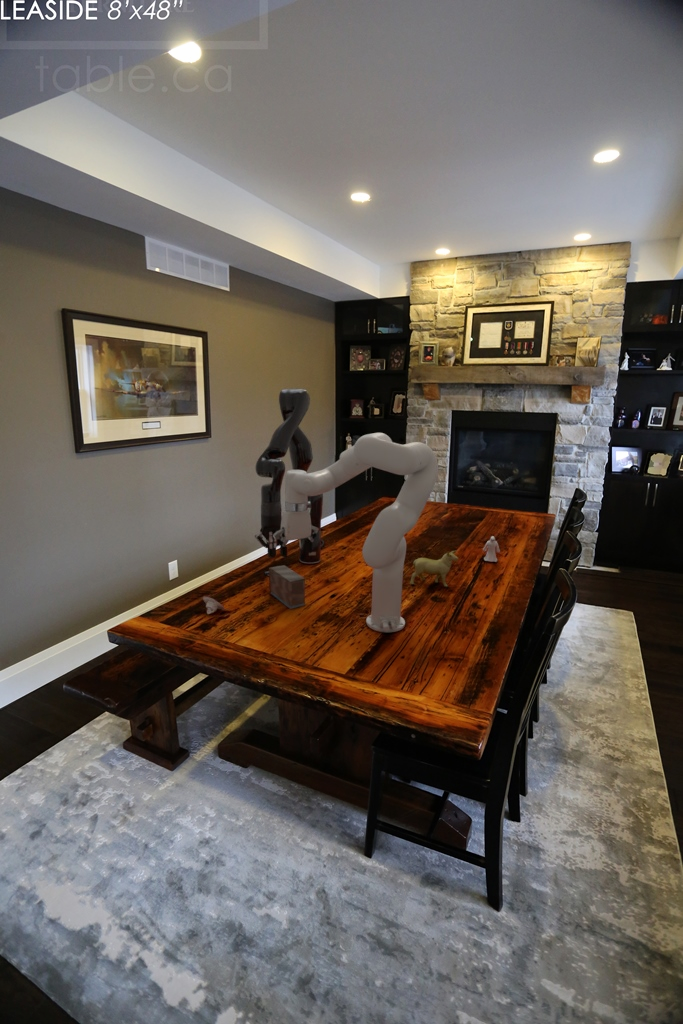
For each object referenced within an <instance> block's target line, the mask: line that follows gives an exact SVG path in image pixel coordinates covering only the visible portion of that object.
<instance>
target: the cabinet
mask: <svg viewBox="0 0 683 1024" xmlns="http://www.w3.org/2000/svg"><path fill="white" fill-rule="evenodd" d="M277 566H278V567H276V566H272V567H273V568H271V567H269V568H270V572H271V590H270V595H272V596H273V597H274V598H276V599H277V600H278V601H279V602H281V603H282V604H284V606H285V607H287V608H289V609H290V610H292V609H295V608H299V607H300V608H301V607H305V605H306V578H305V577H303V576H302V575H300V574H299V573H297V572H296V571H294V570H292V569H291V568H290V567H288V566H286V565H285V564H284V565H277Z"/></svg>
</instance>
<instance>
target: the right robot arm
mask: <svg viewBox="0 0 683 1024" xmlns="http://www.w3.org/2000/svg"><path fill="white" fill-rule="evenodd" d="M370 468H375V469H378V470H382V471H384V472H388V473H391V474H394V475H397V476H407V475H408V476H407V478H406V479H405V481H404V483H403V485H402V486H401V489H400V491H399V493H398V495H397V496H396V499H395V500H394V502H393V503H392V504H390V505H388V506H386V507H385V508H383V509H382V510H381V511H380V512H379V513H378V515H377V516H376V518H375V520H374V521H373V524H372V526H371V528H370V530H369V532H368V535H366V536H367V537H366V538H365V540H364V543H363V545H362V549H361V550H362V551H361V553H362V558H363V561H364V562H365V564H366V565H367V566H368V567H370V568H372V585H371V586H372V587H371V607H370V609H371V613H370V615H368V616H367V617H366V621H365V622H366V623H365V624H366V625H367V627H368V628H369V629H372V630H373V631H376V632H379V633H396V632H398V631H402V630H403V629H404V628H405V626H406V620H405V618H403V617H402V615H401V614H402V599H403V598H402V597H403V580H404V567H405V559H406V553H407V541H406V538H405V535H406V534H408V533H409V532H411V531H412V530H413V529H414V528H415V527H416V525H417V524H418V521H419V519H420V517H421V514H422V513H423V510H424V509H425V507H426V505H427V503H428V500H429V498H430V496H431V494H432V492H433V490H434V488H435V486H436V483H437V480H438V477H439V462H438V458H437V455H436V454H435V452H434V451H433V449H432V448H431V447H430V446H429V445H428V444H426V443H424V442H420V441H412V442H409V443H405V444H400V443H397V442H394V441H393V440H392V438H391V437H390V436H389V435H387V434H386V433H383V432H374V433H367V434H364V435H362V436H360V437H359V438H358V439H357V440H356V441H355V443H354V445H352V446H350V447H349V448H347V449H345V450H344V451H342V452H341V453H340V454H339V459H338V460H337V461H335V462H334V463H332V464H331V465H329V466H327V467H325V468H323V469H321V470H320V469H319V470H316V471H313V472H309V473H308V471H307V472H306V471H303V470H293V469H289V470H287V471H285V473H284V487H285V489H284V490H285V491H284V494H285V496H284V498H285V500H284V501H285V503H284V504H285V506H284V510H283V509H282V512H281V516H282V519H281V529H280V530H279V531H277V532H276V533H274V534H273V537H274V538H275V541H276V542H277V543H278V544H279V545H280V546H279V549H280V550H279V554H280V556H281V557H283V558H284V559H286V558H288V547H287V546H286V545H287V544H288V543H289V541H296V540H300V539H303V538H306V539H307V540H306V541H305V551H307V552H309V553H311V551H312V542H313V541H314V538H315V537H316V535H317V532H318V530H319V528H317V527H315V526H312V525H311V518H310V510H309V508H308V506H309V505H310V504H311V503H310V502H308V496H316V495H319V494H322V493H323V494H324V493H327V492H330V491H333V490H334V489H336V488H339V487H340V486H341V485H343V484H345V483H347V482H348V481H351V479H354V478H355V477H357V476H358V475H360V474H361V473H363V472H365V471H366V470H369V469H370ZM311 529H313V532H312V533H311ZM280 535H281V537H282V539H281V540H280V539H279V536H280Z"/></svg>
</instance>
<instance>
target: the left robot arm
mask: <svg viewBox="0 0 683 1024" xmlns="http://www.w3.org/2000/svg"><path fill="white" fill-rule="evenodd" d="M310 404H311V397H310V394H309V391H308V390H307V389H304V388H283V389H281V390H280V392H279V395H278V405H279V410H280V412H281V417H282V423H281V424H280V425H279V426H278V427H276V429H275V430H274V431H273V433H272V435H271V438H270V440H269V442H268V446H267V447H266V448H265V449H264V451H263V452H262V454H261V455H260V456H259V457H258V458H257V461H256V463H255V473H256V475H257V476H258V477H261V478H268V479H272V481H271V483H265V484H263V485H262V486H261V487H260V497H261V498H260V529H259V533H258V534H255V535H254V538H255V539H256V540H257V541H258V543H259V544H260V545H261V546H262V547H264V548H265V549H267V556H268V557H269V558H270V559H274V558H276V556H277V547H280V545H279V544H278V543H277V542H276V541H275V538H274V537H273V534H274V533H276V532H277V531H279V530H280V529H281V519H282V513H283V509H282V500H281V499H282V496H281V495H282V494H281V493H282V492H281V490H282V485H283V480H284V478H285V474H286V464H285V462H284V461H283V458H284V457H285V456H286V455H287V453H288V452H289V459H290V463H291V470H303V471H306V472H307V473H308V470H309V468H310V466H311V464H312V462H313V458H314V456H313V449H312V448H313V447H312V443H311V440H310V439H309V437H308V435H307V434H306V433H305V431H304V430H303V429H302V428H301V427H300V424H301V423H302V422H303V419H304V417H305V416H306V414H307V412H308V410H309V408H310ZM308 502H310V503H311V504H310V505H309V506H308V509H310V510H309V513H310V518H311V525H312V526H315V527H317V528H319V530H318V532H317V535H316V537H315V538H314V541H313V542H312V551H311V553H309V552H307V551H305V541H306V540H307V539H306V538H303V539H299V559H298V560H299V562H300V563H301V564H303V565H315V564H316V565H317V564H319V563H321V561H322V558H321V557H322V556H321V551H322V548H323V546H324V544H325V541H324V540H323V539H322V531H324V529H323V528H322V517H323V504H324V493H322V494H319V495H316V496H308ZM312 532H313V529H311V533H312ZM264 539H265V541H264ZM279 539H280V540H281V539H282V537H281V535H280V536H279Z"/></svg>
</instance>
